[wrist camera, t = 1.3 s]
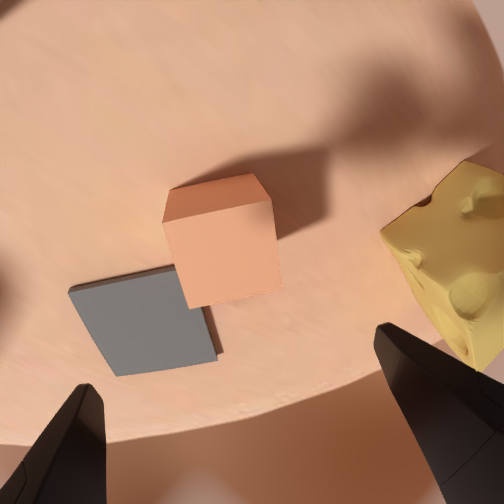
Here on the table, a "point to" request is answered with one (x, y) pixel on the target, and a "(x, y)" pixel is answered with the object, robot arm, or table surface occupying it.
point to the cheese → (458, 260)
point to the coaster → (144, 322)
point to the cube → (223, 240)
